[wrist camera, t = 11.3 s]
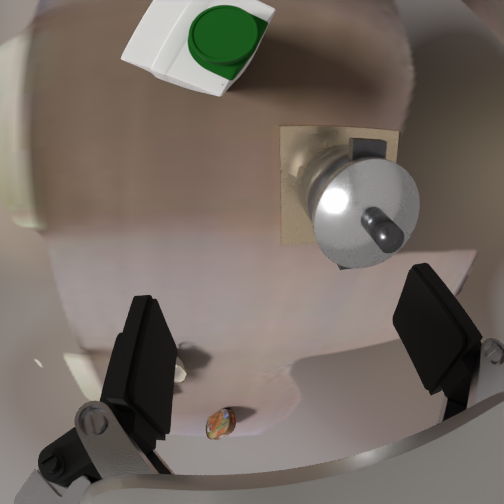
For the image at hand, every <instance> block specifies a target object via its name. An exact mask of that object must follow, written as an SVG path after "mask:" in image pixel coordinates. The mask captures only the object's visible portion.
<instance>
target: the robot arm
mask: <svg viewBox="0 0 504 504" xmlns="http://www.w3.org/2000/svg"><path fill="white" fill-rule="evenodd" d="M393 325H394V327H395V329H396V331H397V332H398V334H399V336H400V338H401V340H402V342H403V344H404V346H405V348H406V350H407V352H408V354H409V356H410V358H411V360H412V362H413V364H414V366H415V368H416V370H417V373H418V374H419V377H420V379H421V381H422V383H423V385H424V387H425V389H426V390H429V393H430V395H433V394H435V393H438V392H440V391H441V390H443V392H444V397H443V401H442V406H441V410H440V413H439V416H438V420H437V423H436V425H435V426H432V427H430V428H428V429H426V430H424V431H421V432H419V433H417V434H414V435H412V436H409V437H407V438H404V439H402V440H399V441H396V442H394V443H391V444H388V445H385V446H382V447H379V448H377V449H373V450H370V451H367V452H364V453H361V454H357V455H353V456H350V457H346V458H342V459H338V460H334V461H330V462H325V463H320V464H316V465H311V466H305V467H299V468H293V469H287V470H279V471H272V472H262V473H252V474H235V475H175V474H174V473H173V471H172V470H171V469H170V468H169V466H168V465H167V464H166V463H165V462H164V461H163V459H162V458H161V457H160V456H159V454H158V453H157V452H156V451H155V448H156V440H165V435H166V434H169V433H170V427H171V412H172V400H173V388H174V378H175V368H176V359H177V348H176V344H175V342H174V340H173V337H172V335H171V333H170V330H169V328H168V326H167V323H166V321H165V318H164V316H163V313H162V311H161V308H160V306H159V303H158V301H157V299H153V298H152V296H151V295H142V296H135V297H134V298H133V301H132V304H131V307H130V310H129V313H128V316H127V319H126V323H125V326H124V329H123V333H119V334H118V336H117V338H116V341H115V344H114V348H113V351H112V355H111V358H110V362H109V366H108V370H107V373H106V377H105V381H104V385H103V389H102V394H101V398H100V401H90V402H87V403H85V404H84V405H82V406H81V407H80V408H79V410H78V411H77V413H76V416H75V427H74V428H73V429H71V430H70V431H68V432H67V433H65V434H64V435H63V436H61V437H60V438H58V439H57V440H55V441H54V442H53V443H51V444H50V445H48V446H47V447H45V448H44V449H43V450H42V451H41V453H40V455H39V459H38V466H39V469H38V470H36V469H34V471H33V472H32V474H31V475H30V476H29V478H28V479H27V481H26V482H25V483H24V485H23V486H22V488H21V489H20V491H19V492H18V494H17V495H16V497H15V500H14V504H504V344H503V343H501V342H500V341H499V340H497V339H495V338H488V339H486V340H484V342H483V343H481V341H480V340H481V339H482V335H481V333H480V332H479V330H478V329H477V327H476V326H475V324H474V323H473V322H472V320H471V319H470V317H469V316H468V315H467V313H466V312H465V310H464V309H463V308H462V306H461V305H460V303H459V302H458V301H457V299H456V298H455V297H454V295H453V294H452V293H451V291H450V290H449V289H448V287H447V286H446V285H445V284H444V282H443V281H442V280H441V279H440V277H439V276H438V275H437V274H436V272H435V271H434V270H433V269H432V268H431V266H430V265H429V264H428V263H421V264H415V265H413V266H412V268H411V269H410V270H409V272H408V275H407V279H406V282H405V285H404V288H403V290H402V293H401V296H400V299H399V302H398V305H397V307H396V310H395V313H394V315H393Z"/></svg>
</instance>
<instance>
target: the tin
mask: <svg viewBox="0 0 504 504" xmlns="http://www.w3.org/2000/svg"><path fill="white" fill-rule="evenodd" d="M235 425H236V419H235V413H234V412H233V411H232V410H229V409H225V408H223V409H221V410H219V411H218V412H216V413H215V414H214V415H212V416H211V417H209V419H208V421H207V424H206V434H207V437H208V438H209V439H215V440H218V439H220V438H222V437H224V436H226V435H228V434H230V433H232V432H233V430H234V428H235Z"/></svg>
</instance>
